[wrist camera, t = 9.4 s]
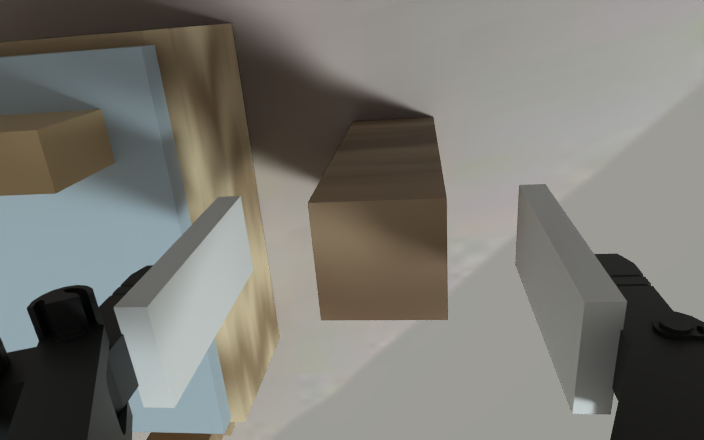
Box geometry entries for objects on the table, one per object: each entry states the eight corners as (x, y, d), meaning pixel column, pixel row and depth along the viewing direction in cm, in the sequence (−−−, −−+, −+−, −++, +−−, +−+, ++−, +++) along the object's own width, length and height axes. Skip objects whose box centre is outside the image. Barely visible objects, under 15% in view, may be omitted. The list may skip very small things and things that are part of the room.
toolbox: (-11, 43, 27) (-146, 54, 20) (231, 23, 25) (168, 28, 19) (109, 423, 36) (43, 513, 30) (293, 427, 34) (264, 524, 28)
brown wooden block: (352, 121, 26) (307, 203, 15) (433, 116, 26) (446, 198, 15) (358, 196, 28) (321, 320, 17) (434, 193, 27) (447, 319, 16)
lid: (-137, 67, 20) (-278, 82, 16) (154, 44, 19) (80, 55, 15) (4, 413, 27) (-72, 488, 22) (231, 418, 25) (194, 500, 21)
